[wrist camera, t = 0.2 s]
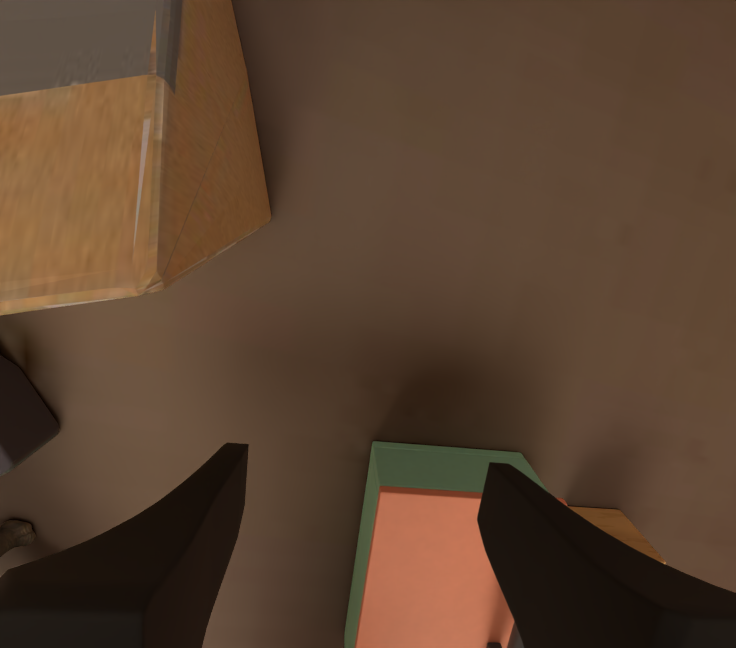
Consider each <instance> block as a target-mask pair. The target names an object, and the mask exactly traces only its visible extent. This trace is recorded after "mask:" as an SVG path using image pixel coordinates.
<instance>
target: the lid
mask: <svg viewBox="0 0 736 648" xmlns="http://www.w3.org/2000/svg"><path fill="white" fill-rule="evenodd" d="M481 498H482V493H479V492H464V491H449V490H435V489H420V488H405V487H390V486H380V487H379V492H378V499H377V505H376V511H375V518H374V524H373V531H372V537H371V543H370V550H369V556H368V563H367V569H366V575H365V582H364V588H363V595H362V601H361V607H360V614H359V620H358V627H357V633H356V639H355V646H354V648H524V646H523V643H522V640H521V637H520V634H519V632H518V629H517V626H516V624H515V621H514V619H513V616H512V614H511V612H510V609H509V607H508V605H507V602H506V600H505V597H504V595H503V593H502V590H501V588H500V586H499V583H498V581H497V579H496V576H495V574H494V571H493V569H492V567H491V564H490V562H489V559H488V557H487V554H486V552H485V549H484V545H483V542H482V538H481V534H480V530H479V526H478V522H477V516H478V511H479V507H480V502H481ZM556 499H558V500H559V501H560V502H562V503H563V504H565V505H566V506H567V503H566V502H565V501H564V499H563V498H556Z"/></svg>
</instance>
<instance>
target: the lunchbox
mask: <svg viewBox="0 0 736 648" xmlns="http://www.w3.org/2000/svg"><path fill="white" fill-rule="evenodd" d="M489 462H495V463H508V464H510V465H512V466H514V467H515V468H517V469H518V470H519V471H521V472H522V473H524V474H525V475H526V476H528V477H529V478H530V479H532V480H533V481H534V482H535V483H537V484H538V485H539V486H541V487H542V488H543V489H545V490H546V491H547V489H546V488H545V486H544V485H543V483H542V482H541V481H540V479H539V478H538V476H537V475H536V473H535V472H534V471H533V469H532V468H531V466H530V465H529V463H528V462H527V461H526V459H525V458H524V456H523V455H522V453H520V452H508V451H495V450H482V449H469V448H456V447H443V446H430V445H417V444H405V443H392V442H379V441H373V442H372V448H371V455H370V462H369V469H368V476H367V482H366V489H365V496H364V503H363V510H362V516H361V523H360V530H359V537H358V544H357V550H356V557H355V564H354V571H353V578H352V584H351V591H350V598H349V605H348V612H347V618H346V625H345V632H344V642H345V643H344V648H354V646H355V639H356V633H357V627H358V620H359V614H360V607H361V601H362V595H363V588H364V582H365V575H366V569H367V563H368V556H369V550H370V543H371V537H372V531H373V524H374V518H375V511H376V505H377V499H378V492H379V487H380V486H390V487H405V488H420V489H435V490H449V491H464V492H479V493H483V489H484V484H485V480H486V476H487V471H488V467H489ZM547 492H548V491H547Z"/></svg>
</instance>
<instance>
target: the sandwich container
mask: <svg viewBox="0 0 736 648" xmlns="http://www.w3.org/2000/svg"><path fill="white" fill-rule="evenodd" d="M270 219H271V210H270V205H269V199H268V193H267V187H266V181H265V175H264V169H263V164H262V158H261V152H260V146H259V140H258V134H257V128H256V122H255V117H254V111H253V105H252V99H251V93H250V87H249V81H248V76H247V69H246V65H245V61H244V56H243V52H242V47H241V43H240V38H239V34H238V29H237V25H236V20H235V15H234V11H233V6H232V2H231V0H0V315H7V314H13V313H20V312H27V311H34V310H41V309H48V308H55V307H62V306H69V305H76V304H83V303H91V302H98V301H105V300H112V299H119V298H126V297H133V296H140V295H144V294H148V293H152V292H157V291H161V290H164V289H166V288H167V287H169V286H170V285H172V284H173V283H175V282H177V281H178V280H180V279H181V278H183V277H184V276H186V275H188V274H189V273H191V272H192V271H194V270H195V269H197V268H199V267H200V266H202V265H203V264H205V263H206V262H208V261H210V260H211V259H213V258H214V257H216V256H217V255H219V254H220V253H222V252H224V251H225V250H227V249H228V248H230V247H231V246H233V245H235V244H236V243H238V242H239V241H241V240H242V239H244V238H246V237H247V236H249V235H250V234H252V233H253V232H255V231H256V230H258V229H259V228H261V227H263V226H264V225H266V224H267V223H269V222H270Z"/></svg>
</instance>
